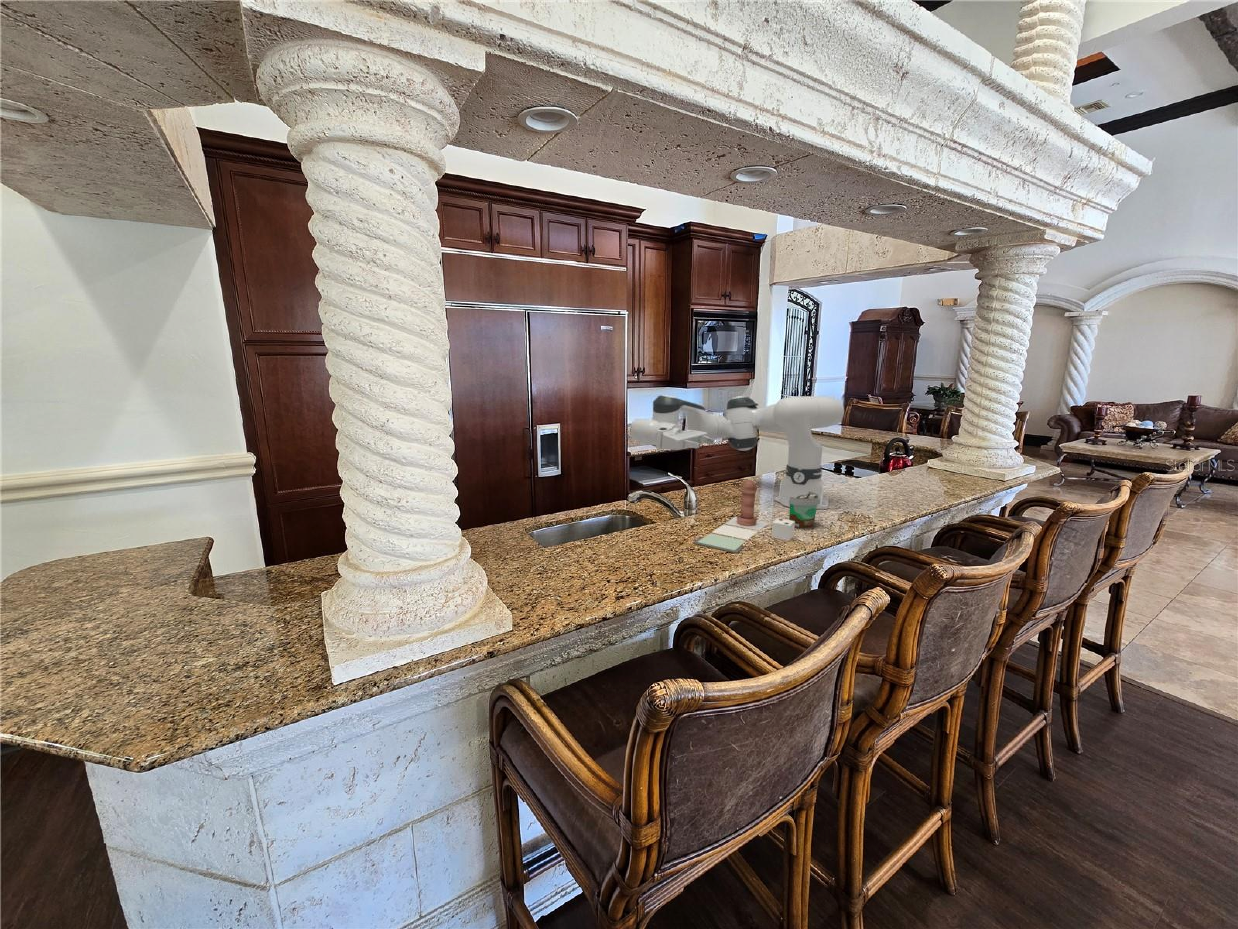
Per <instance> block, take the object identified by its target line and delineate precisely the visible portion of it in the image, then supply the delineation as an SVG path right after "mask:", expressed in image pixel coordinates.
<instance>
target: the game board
mask: <svg viewBox="0 0 1238 929" xmlns="http://www.w3.org/2000/svg"><path fill="white" fill-rule="evenodd" d="M768 524H769V522H765V521H759V520H757V522H756V525H755V526H742V525H739V524H737V516H734V517H733V518H731V519H729V520H728V521H727V522H726V521H725V523H724V524H722V525H720V526H719V527H717V528H716V529H714V530H713V531H711V533H709V534H707V535H705V536H704V537H702V536H701V537H699V538H697V539H696V540H694V541H693V542H692V543H694V544H693V545H697V544H699V545H698V546H701V545H702V547H705V546H706V547H705V548H710V549H714V548H715V550H718V549H719V551H722V552H723V551H724V552H727V551H728V553H731V552H732V553H731V554H738V553H739V552H741V550H743V549H744V548H745V545H743V544H744V543H746V542H747V541H748V540H750V539H751V538H752V537H753V536H754V535H755V534H758V532H760V530H761V529H763V528H764V527H765V526H767V525H768Z"/></svg>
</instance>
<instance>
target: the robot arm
mask: <svg viewBox="0 0 1238 929" xmlns="http://www.w3.org/2000/svg"><path fill="white" fill-rule="evenodd" d="M757 406H759V404H758V403H756V402H755V401H754V399H752V398H750V397H749V396H747V397H746V396H743V395H739V396H734V397H732V398H731V399H729V400H728V401H727V404H726V410H727V416H726V417H725V416H723V415H721V414H717V413H708V412H707V411H706V409H705V406H703V405H701V404H698V403H696V402H691V401H688V400H683V399H680V398H679V397H676V396H674V395H670V394H662V395H661V394H660V395H658V396H656V398H655V399H654V400H653V401H652V419H650V418H649V419H648V418H635V419H634V420H633V421H632V422H631V423H630V424H631V425H630V431H629V434H630V438H631V439H632V440H633V441H636V442H639V443H642V444H644V445H649V446H653V447H655V449H657V450H669V451H679V450H683V449H687V448H691V449H700V448H701V445H702V444H707V445H714V444H715V441H716V440H720V439H726V441H725V443H728V445H729V446H730V447H731V448H733V449H734V450H737V451H740V452H741V451H743V452H745V451H749V450H751V449H753V448H755V447H756V446H757V444H758V436H757V429H758V430H759V431H760V432H764V433H768V434H769V433H770V434H771V433H775V434H777V433H783V432H784V433H785V436H786V439H787V442H788V453H787V454H788V458H787V464H786V467H785V476H784V477H783V478H781V480H780V485H779V486H780V487H779V493H778V496H775V497H774V501H775V502H778V503H779V504H780V505H783V506H785V507H788V508H790V504H789V499H790V497H793V498H797V497H798V496H801V495H807V494H808V492H809V491H810V492H814V493H816V494H818V495H819V498H820V503H819V504H818V505H817V510H818V509H820V510H821V509H822V510H824V509H825V510H826V509H827V510H828V509H829V501H830V500H829V496H827V495H826V493H824V485H825V484H824V482H823V480H822V474H823V471H822V454H823V446H822V444H821V443H820V441H818V440H817V439H815V438H814V436H813V434H812V429H823V428H828V427H833V426H837V425H838V424H839V423H841V421H842V420H843V418H844V415H845V408H844V404H843V403H842V401H841V400H840V399H839V398H835V397H831V396H825V395H822V396H821V395H820V396H819V395H818V396H817V395H815V396H811V395H810V396H807V395H806V396H805V395H804V396H803V395H801V396H800V395H799V396H798V395H797V396H796V395H795V396H793V395H792V396H788V397H783V398H781V399H779V400H778V401H777V402H776V403H773V404H770V405H767V406H765V407H762V408H761V407H760V408H758V407H757ZM681 412H684V413H685V417H686V425H687V426H686V427H687V430H683V429H682V428H681V427H680V424H679V422H680V414H681Z"/></svg>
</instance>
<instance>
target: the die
mask: <svg viewBox="0 0 1238 929" xmlns="http://www.w3.org/2000/svg"><path fill="white" fill-rule="evenodd" d="M771 524H772V526H771V536H770V537H771V539H775V540H779V541H780V540H781V541H786V542H790V540H792V539H793V537H794V536H795V527H794V526H795V521H791V520H789V519H785V518H779V517H777V518H776V519H775V520H774V521H772V523H771Z"/></svg>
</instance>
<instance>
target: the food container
mask: <svg viewBox="0 0 1238 929" xmlns="http://www.w3.org/2000/svg"><path fill="white" fill-rule="evenodd" d="M819 503H820V498H819V495H818V494H816V493H814V492H810V491H809V492H808V494H807V495H801V496H798V497H797V498H793V497H790V499H789V504H790V507H789V517H788V518H789V519H788V520H791V521H795V526H794V529H795V528H797V529H810V528H813V527H815V526H814V525H815V520H816V515H817V514H816V513H817V510H818V509H817V505H818V504H819Z"/></svg>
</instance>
